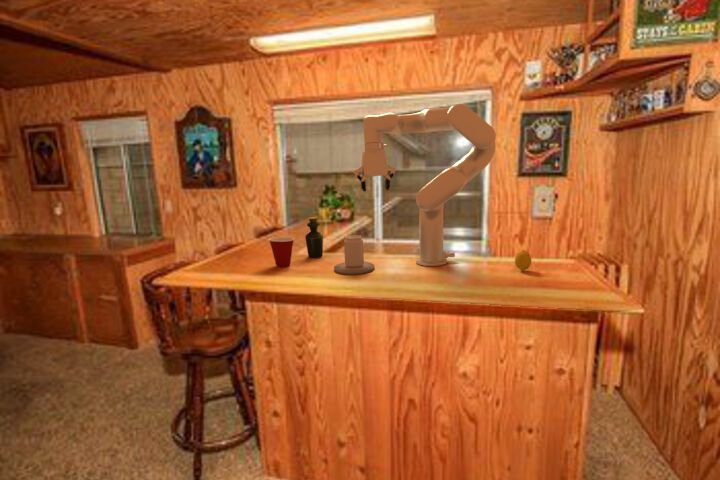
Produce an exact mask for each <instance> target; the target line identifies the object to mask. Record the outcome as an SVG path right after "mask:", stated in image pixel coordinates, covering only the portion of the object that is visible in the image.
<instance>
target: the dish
mask: <svg viewBox="0 0 720 480" xmlns="http://www.w3.org/2000/svg"><path fill="white" fill-rule="evenodd" d="M374 270H375V264H374V263H372V262H369V261H364V264H363V265H362V266H361V267H359V268H349V267H347V266H346V265H345V261H344V262H340V263H338V264H335V265H334V266H333V271H334V272H335V273H336V274H339V275H346V276H355V275H356V276H357V275H364V274H369V273H371V272H373V271H374Z"/></svg>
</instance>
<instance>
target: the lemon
mask: <svg viewBox="0 0 720 480" xmlns="http://www.w3.org/2000/svg"><path fill="white" fill-rule="evenodd" d="M514 264H515V267H516V268H517V269H518V270H520V271H521V272H524V271H526V270H528V269H529V268H530V267H531V265H532V256H531V254H530V252H528V251H526V250H525V249H522V250H520V251H518V252H517V253H516V255H515V258H514Z"/></svg>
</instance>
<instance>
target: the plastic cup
mask: <svg viewBox="0 0 720 480" xmlns="http://www.w3.org/2000/svg"><path fill="white" fill-rule="evenodd" d="M268 241H269V244H270V247H271V251H272V255H273V258H274V262H275V265H276V268H287V267H288V268H289V267H290V266H291V264H292V263H291V262H292V252H293V245H294V241H295V237H284V236H283V237H282V236H281V237H280V236H278V237H277V236H276V237H269V238H268Z"/></svg>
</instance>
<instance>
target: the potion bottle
mask: <svg viewBox="0 0 720 480" xmlns="http://www.w3.org/2000/svg"><path fill="white" fill-rule="evenodd" d="M308 221H309V222H307V224H306V227H308V228H309V230H310V232H308V233H306V234H305V237H304V239H305V244H306V250H307V256H308V258H309V259H320V258H322V257H323V253H324V251H323V250H324V235H323V234H322V233H321V232H319V231H318V227H319V226H320V222H318V217H313V216H312V217H308Z"/></svg>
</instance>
